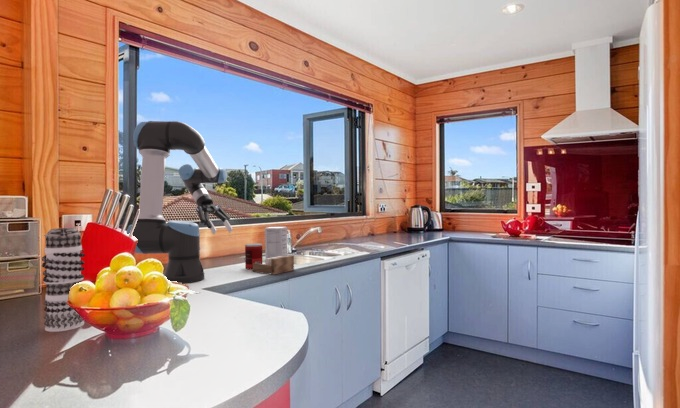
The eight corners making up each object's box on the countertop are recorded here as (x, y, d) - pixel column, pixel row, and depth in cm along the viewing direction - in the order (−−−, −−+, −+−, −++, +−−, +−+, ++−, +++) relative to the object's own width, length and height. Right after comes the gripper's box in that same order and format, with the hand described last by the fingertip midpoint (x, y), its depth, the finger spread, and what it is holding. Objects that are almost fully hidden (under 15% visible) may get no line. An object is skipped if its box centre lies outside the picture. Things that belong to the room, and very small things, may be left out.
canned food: (264, 266, 191) (264, 243, 191) (259, 269, 183) (259, 245, 183) (248, 266, 192) (248, 243, 192) (243, 269, 184) (242, 245, 184)
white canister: (288, 257, 219) (287, 226, 219) (282, 260, 210) (282, 227, 209) (271, 257, 221) (270, 226, 220) (264, 260, 212) (264, 227, 211)
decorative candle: (94, 321, 108) (93, 227, 108) (69, 332, 99) (67, 230, 98) (61, 320, 109) (60, 227, 108) (33, 332, 99) (31, 230, 99)
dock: (274, 274, 172) (273, 259, 171) (252, 271, 179) (252, 256, 179) (293, 270, 182) (293, 255, 182) (272, 267, 189) (272, 253, 189)
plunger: (268, 272, 176) (268, 258, 176) (264, 271, 177) (264, 258, 177) (283, 268, 183) (282, 256, 183) (279, 268, 184) (279, 255, 184)
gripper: (217, 204, 219) (237, 235, 210) (180, 204, 202) (201, 238, 193) (223, 194, 216) (243, 225, 207) (187, 194, 199) (207, 227, 190)
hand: (223, 231), depth 200 cm, fingers open, 9 cm apart
